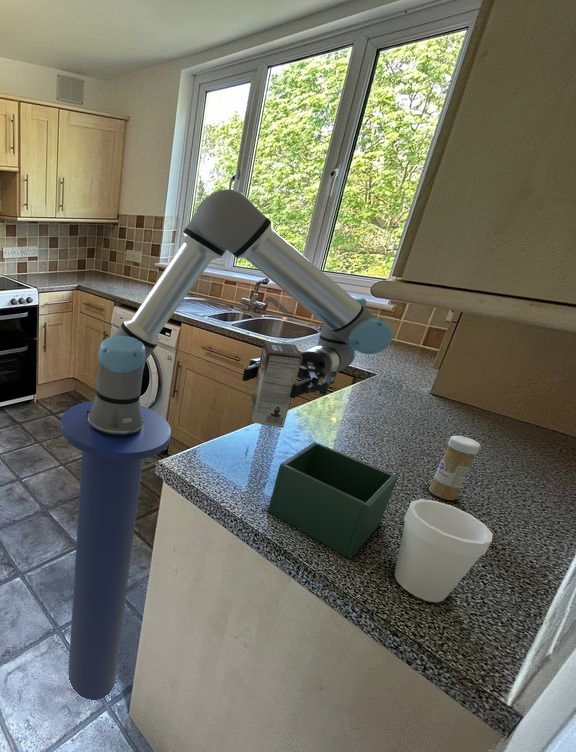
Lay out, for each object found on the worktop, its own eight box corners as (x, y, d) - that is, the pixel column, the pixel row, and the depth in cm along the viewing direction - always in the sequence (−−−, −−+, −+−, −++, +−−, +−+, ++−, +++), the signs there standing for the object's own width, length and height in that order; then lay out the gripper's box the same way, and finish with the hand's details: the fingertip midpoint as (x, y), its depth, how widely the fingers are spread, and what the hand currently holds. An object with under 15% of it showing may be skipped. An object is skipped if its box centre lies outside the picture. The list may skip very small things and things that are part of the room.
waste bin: (267, 511, 80) (280, 464, 77) (301, 485, 89) (314, 441, 85) (350, 559, 70) (369, 506, 66) (379, 524, 78) (398, 476, 74)
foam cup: (404, 605, 62) (435, 537, 57) (371, 558, 70) (395, 496, 66) (474, 616, 60) (511, 547, 56) (432, 566, 69) (461, 503, 64)
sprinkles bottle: (422, 487, 90) (445, 433, 85) (444, 488, 90) (468, 435, 85) (438, 500, 86) (463, 445, 81) (461, 502, 85) (487, 447, 81)
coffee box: (248, 405, 95) (263, 340, 89) (278, 410, 93) (295, 344, 88) (251, 423, 87) (268, 352, 81) (284, 429, 85) (304, 356, 79)
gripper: (362, 394, 91) (319, 420, 78) (266, 364, 108) (217, 381, 95) (373, 363, 89) (330, 384, 76) (272, 337, 105) (223, 351, 92)
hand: (267, 382), depth 85 cm, fingers closed on coffee box, 10 cm apart
